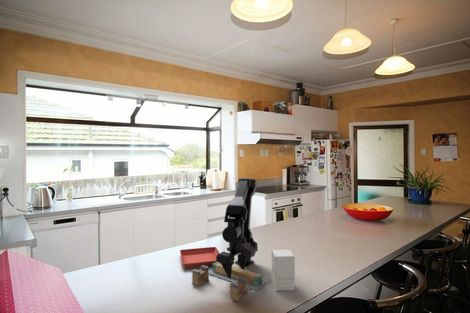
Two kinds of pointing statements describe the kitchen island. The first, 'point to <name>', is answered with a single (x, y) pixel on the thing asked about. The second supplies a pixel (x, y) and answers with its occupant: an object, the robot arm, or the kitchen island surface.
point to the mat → (236, 280)
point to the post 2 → (238, 289)
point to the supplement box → (283, 270)
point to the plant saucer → (198, 257)
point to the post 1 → (200, 275)
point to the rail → (239, 274)
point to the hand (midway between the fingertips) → (236, 274)
